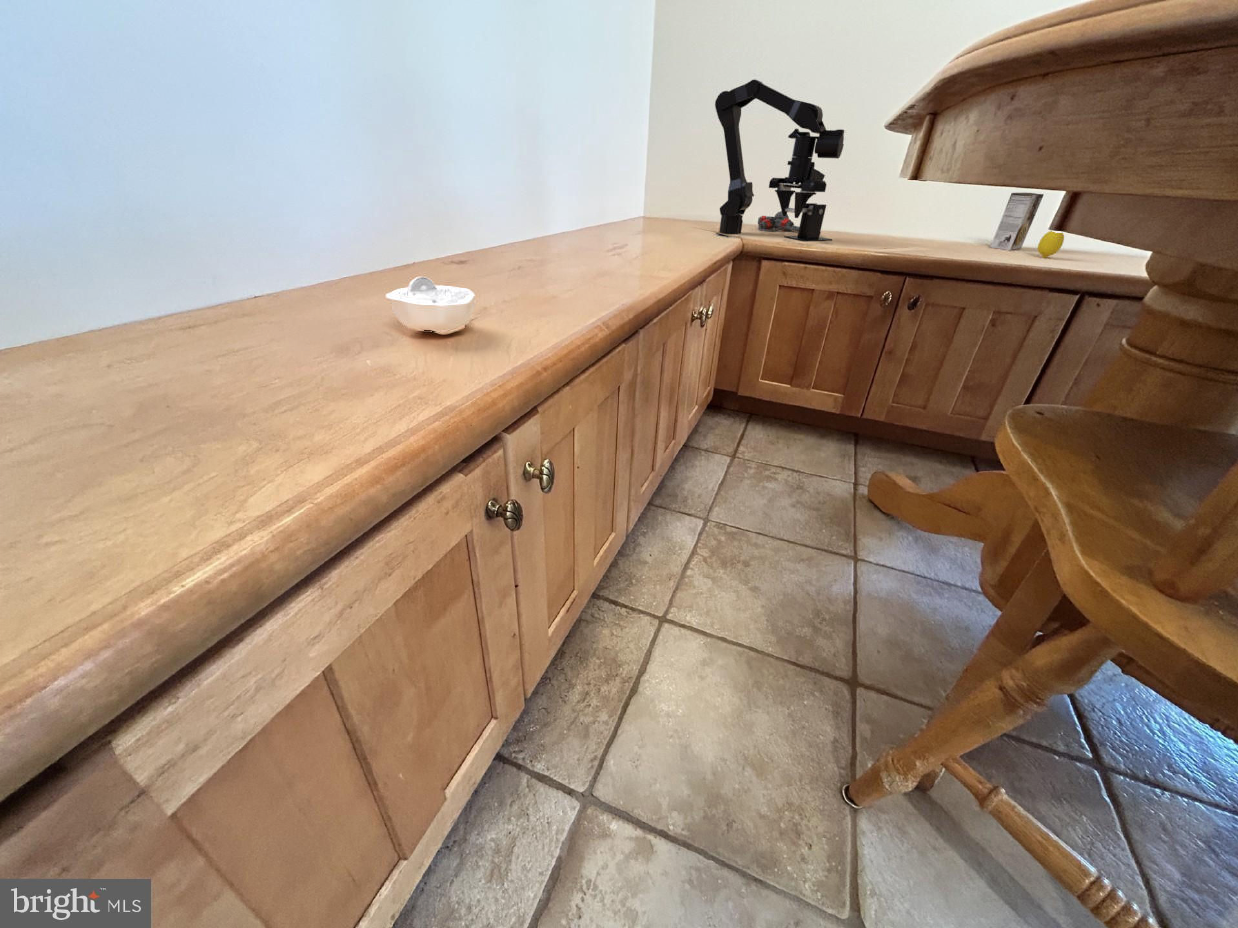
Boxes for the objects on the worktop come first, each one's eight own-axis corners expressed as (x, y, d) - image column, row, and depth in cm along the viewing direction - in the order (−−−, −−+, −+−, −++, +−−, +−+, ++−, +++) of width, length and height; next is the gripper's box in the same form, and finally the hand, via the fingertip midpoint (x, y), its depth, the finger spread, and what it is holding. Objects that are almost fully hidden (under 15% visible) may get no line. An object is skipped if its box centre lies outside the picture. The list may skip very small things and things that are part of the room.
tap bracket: (802, 244, 154) (810, 205, 149) (783, 240, 161) (790, 202, 155) (831, 243, 159) (840, 205, 153) (811, 239, 166) (819, 202, 160)
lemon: (1037, 258, 147) (1051, 229, 143) (1029, 255, 152) (1042, 227, 148) (1058, 260, 146) (1073, 230, 142) (1050, 257, 151) (1063, 228, 147)
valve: (739, 235, 182) (767, 227, 188) (798, 249, 165) (826, 240, 171) (741, 216, 178) (769, 208, 184) (801, 228, 161) (830, 220, 167)
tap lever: (794, 215, 150) (796, 206, 149) (783, 214, 154) (785, 205, 153) (822, 215, 154) (824, 207, 153) (810, 214, 158) (812, 205, 157)
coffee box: (1000, 246, 170) (1022, 192, 162) (1021, 248, 166) (1045, 193, 157) (988, 247, 165) (1010, 192, 157) (1010, 250, 161) (1034, 193, 152)
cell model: (428, 351, 60) (418, 293, 57) (379, 329, 67) (368, 276, 63) (496, 334, 67) (491, 281, 63) (446, 315, 74) (439, 267, 70)
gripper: (847, 159, 140) (832, 220, 149) (801, 158, 155) (790, 214, 163) (817, 157, 136) (804, 220, 144) (772, 156, 151) (763, 214, 159)
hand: (790, 217), depth 153 cm, fingers closed on tap lever, 5 cm apart
